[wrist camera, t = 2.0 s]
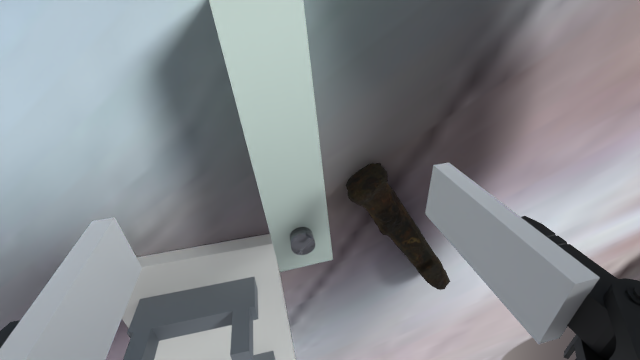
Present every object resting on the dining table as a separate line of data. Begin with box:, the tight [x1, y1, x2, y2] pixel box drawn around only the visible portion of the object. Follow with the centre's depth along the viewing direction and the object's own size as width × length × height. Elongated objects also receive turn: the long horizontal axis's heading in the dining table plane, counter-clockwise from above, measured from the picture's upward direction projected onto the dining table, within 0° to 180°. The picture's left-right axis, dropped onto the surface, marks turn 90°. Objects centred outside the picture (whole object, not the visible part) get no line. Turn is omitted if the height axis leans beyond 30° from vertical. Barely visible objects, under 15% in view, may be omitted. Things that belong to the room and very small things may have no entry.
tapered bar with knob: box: [209, 0, 333, 272], centre depth 20 cm, size 4×18×9 cm, turn 6°
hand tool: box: [346, 163, 450, 290], centre depth 31 cm, size 19×4×5 cm, turn 33°
